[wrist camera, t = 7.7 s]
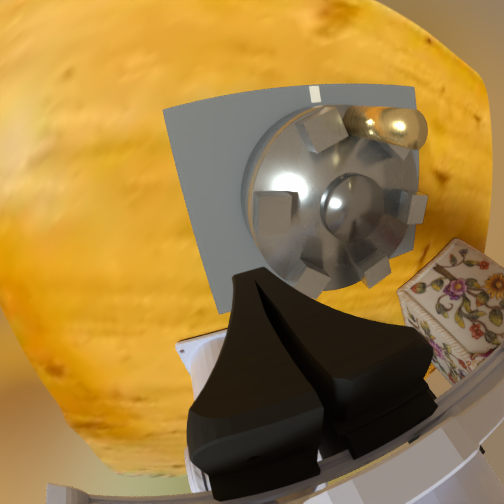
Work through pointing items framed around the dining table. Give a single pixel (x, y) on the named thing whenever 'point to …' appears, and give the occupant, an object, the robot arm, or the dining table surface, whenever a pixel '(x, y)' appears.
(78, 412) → the dining table surface
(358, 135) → the notched steel disc
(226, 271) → the base plate
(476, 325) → the decorative jar
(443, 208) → the dining table surface
